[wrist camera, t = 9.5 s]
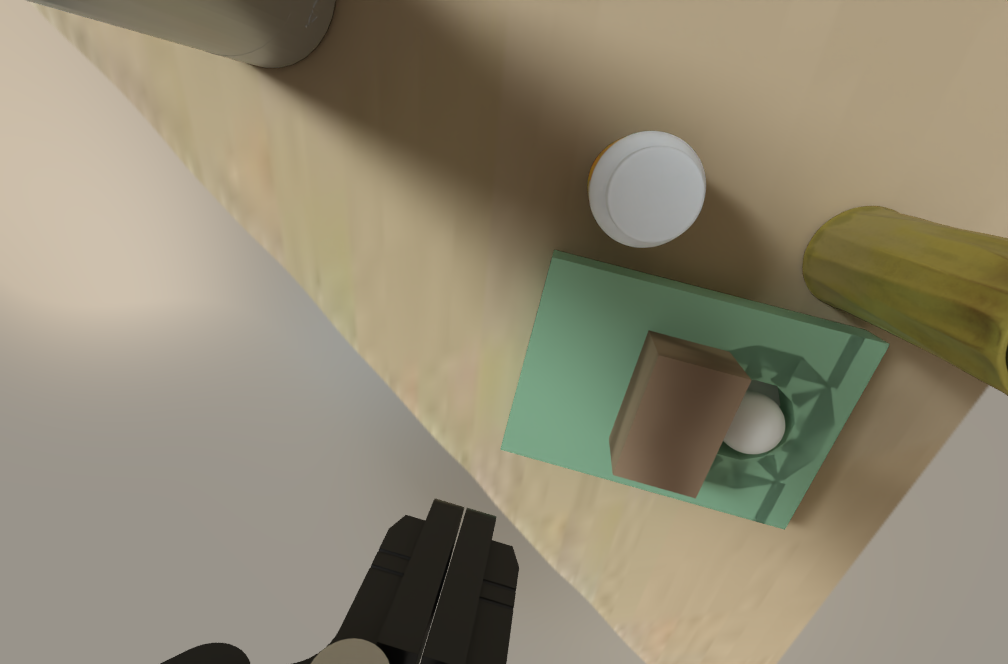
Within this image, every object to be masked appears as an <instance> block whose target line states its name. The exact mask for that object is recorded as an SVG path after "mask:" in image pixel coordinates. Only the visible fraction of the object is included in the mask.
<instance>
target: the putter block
mask: <svg viewBox="0 0 1008 664" xmlns="http://www.w3.org/2000/svg"><path fill="white" fill-rule="evenodd" d="M750 382H751V379H750V377H749V376H748V375H747V374H746V372H745V371H744V370H743V368H742V367H741V366H740V365H739V363H738V362H737V361H736V359H735V358H734V357H733V356H732V354H731V353H730V352H728V351H725V350H721V349H717V348H713V347H710V346H706V345H702V344H698V343H695V342H691V341H687V340H683V339H680V338H676V337H672V336H668V335H665V334H661V333H657V332H653V331H650V330H649V331H648V333H647V336H646V339H645V341H644V344H643V347H642V350H641V352H640V355H639V358H638V360H637V363H636V366H635V369H634V371H633V374H632V377H631V379H630V382H629V385H628V388H627V390H626V393H625V396H624V398H623V401H622V404H621V407H620V409H619V412H618V415H617V417H616V420H615V423H614V426H613V428H612V431H611V434H610V436H609V446H610V455H611V464H612V473H613V475H615V476H618V477H622V478H625V479H629V480H632V481H636V482H639V483H643V484H646V485H650V486H653V487H657V488H660V489H664V490H667V491H671V492H674V493H678V494H681V495H685V496H689V497H692V498H696V497H697V495H698V493H699V491H700V489H701V486H702V484H703V482H704V480H705V478H706V476H707V474H708V472H709V469H710V467H711V465H712V463H713V461H714V459H715V457H716V455H717V452H718V450H719V448H720V446H721V444H722V442H723V440H724V438H725V436H726V433H727V431H728V429H729V427H730V425H731V423H732V421H733V419H734V416H735V414H736V412H737V410H738V408H739V406H740V404H741V402H742V399H743V397H744V395H745V393H746V391H747V389H748V387H749V385H750Z"/></svg>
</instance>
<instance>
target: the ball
mask: <svg viewBox="0 0 1008 664" xmlns="http://www.w3.org/2000/svg"><path fill="white" fill-rule="evenodd" d="M784 432H785V419H784V415H783V413H782V411H781V409H780V407H779V406H778V405H777V404H776V403H775V402H774V401H773V400H772V399H771V398H769V397H768V396H766V395H764V394H762V393H759V392H755V391H746V393H745V395H744V397H743V399H742V402H741V404H740V406H739V408H738V410H737V412H736V414H735V416H734V419H733V421H732V423H731V425H730V427H729V429H728V431H727V433H726V436H725V438H724V440H723V441H724V442H725V443H726V444H727V445H728V446H730V447H731V448H732V449H734V450H736V451H739V452H741V453H745V454H761V453H765V452H767V451H769V450H771V449H773V448H774V447H775V446H777V445H778V443H779V442H780V441H781V439H782V437H783V435H784Z"/></svg>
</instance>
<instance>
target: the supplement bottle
mask: <svg viewBox="0 0 1008 664" xmlns="http://www.w3.org/2000/svg"><path fill="white" fill-rule="evenodd" d="M587 190H588V197H589V202H590V207H591V211H592V213H593V216H594V218H595V220H596V221H597V223H598V225H599V226H600V227H601V228H602V230H603V231H604V232H605V233H606V234H607V235H608V236H610V237H611V238H612V239H614V240H615V241H617V242H619V243H621V244H624V245H627V246H631V247H637V248H647V247H655V246H659V245H662V244H665V243H667V242H669V241H671V240H673V239H675V238H677V237H678V236H679V235H681V234H682V233H684V232H685V231H686V230H687V229H688V228H689V227H690V226H691V225H692V224H693V223H694V221H695V220H696V218H697V217H698V215H699V213H700V211H701V209H702V206H703V202H704V199H705V193H706V176H705V171H704V168H703V165H702V162H701V160H700V158H699V157H698V155H697V154H696V152H695V151H694V150H693V149H692V147H691V146H690V145H689V144H688V143H686V142H685V141H683V140H682V139H680V138H679V137H677V136H674V135H672V134H669V133H665V132H660V131H643V132H638V133H634V134H631V135H628V136H626V137H623V138H621V139H619V140H617V141H615V142H613V143H611V144H610V145H608V146H607V147H606V148H605V149H604V150H603V151H602V152H601V153H600V154H599V155H598V156H597V158H596V159H595V161H594V163H593V165H592V167H591V169H590V172H589V176H588V183H587Z"/></svg>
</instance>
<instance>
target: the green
mask: <svg viewBox="0 0 1008 664" xmlns="http://www.w3.org/2000/svg"><path fill="white" fill-rule="evenodd" d="M649 330H650V331H653V332H657V333H661V334H665V335H668V336H672V337H676V338H680V339H683V340H687V341H691V342H695V343H698V344H702V345H706V346H710V347H713V348H717V349H721V350H725V351H728V352H730V353H731V354H732V356H733V357H734V358H735V359H736V361H737V362H738V363H739V365H740V366H741V367H742V368H743V370H744V371H745V372H746V374H747V375H748V376H749V377H750V379H751V382H750V385H749V387H748V389H747V391H755V392H759V393H762V394H764V395H766V396H768V397H769V398H771V399H772V400H773V401H774V402H775V403H776V404H777V405H778V406H779V407H780V409H781V411H782V413H783V415H784V419H785V432H784V435H783V437H782V439H781V441H780V442H779V443H778V445H777V446H775V447H774V448H773V449H771V450H769V451H767V452H765V453H761V454H745V453H741V452H739V451H736V450H734V449H732V448H731V447H730V446H728V445H727V444H726V443H725V442H724V441H723V442H722V444H721V446H720V448H719V450H718V452H717V455H716V457H715V459H714V461H713V463H712V465H711V467H710V469H709V472H708V474H707V476H706V478H705V480H704V482H703V484H702V486H701V489H700V491H699V493H698V495H697V497H696V498H692V497H689V496H685V495H681V494H678V493H674V492H671V491H667V490H664V489H660V488H657V487H653V486H650V485H646V484H643V483H639V482H636V481H632V480H629V479H625V478H622V477H618V476H615V475H613V473H612V464H611V455H610V446H609V436H610V434H611V431H612V428H613V426H614V423H615V420H616V417H617V415H618V412H619V409H620V407H621V404H622V401H623V398H624V396H625V393H626V390H627V388H628V385H629V382H630V379H631V377H632V374H633V371H634V369H635V366H636V363H637V360H638V358H639V355H640V352H641V350H642V347H643V344H644V341H645V339H646V336H647V333H648V331H649ZM889 345H890V344H888V343H887V342H885V341H883V340H882V339H880V338H878V337H877V336H875V335H873V334H872V333H870V332H868V331H867V330H864V329H860V328H856V327H852V326H848V325H845V324H841V323H837V322H833V321H829V320H825V319H821V318H817V317H814V316H810V315H806V314H802V313H798V312H794V311H790V310H786V309H782V308H779V307H775V306H771V305H767V304H763V303H759V302H755V301H751V300H748V299H744V298H740V297H736V296H732V295H728V294H724V293H720V292H716V291H713V290H709V289H705V288H701V287H697V286H693V285H689V284H685V283H682V282H678V281H674V280H670V279H666V278H662V277H658V276H654V275H650V274H647V273H643V272H639V271H635V270H631V269H627V268H623V267H619V266H616V265H612V264H608V263H604V262H600V261H596V260H592V259H588V258H584V257H581V256H577V255H573V254H569V253H565V252H561V251H557V250H554V252H553V256H552V260H551V263H550V267H549V271H548V274H547V278H546V282H545V286H544V289H543V293H542V297H541V300H540V304H539V308H538V312H537V315H536V319H535V323H534V326H533V330H532V334H531V338H530V341H529V345H528V349H527V352H526V356H525V360H524V364H523V367H522V371H521V375H520V378H519V382H518V386H517V389H516V393H515V397H514V401H513V404H512V408H511V412H510V415H509V419H508V423H507V427H506V430H505V434H504V438H503V442H502V445H501V449H500V450H504V451H508V452H511V453H515V454H518V455H522V456H525V457H529V458H532V459H536V460H540V461H543V462H547V463H550V464H554V465H557V466H561V467H564V468H568V469H572V470H575V471H579V472H582V473H586V474H589V475H593V476H596V477H600V478H603V479H607V480H611V481H614V482H618V483H621V484H625V485H628V486H632V487H635V488H639V489H643V490H646V491H650V492H653V493H657V494H660V495H664V496H667V497H671V498H675V499H678V500H682V501H685V502H689V503H692V504H696V505H699V506H703V507H706V508H710V509H714V510H717V511H721V512H724V513H728V514H731V515H735V516H738V517H742V518H746V519H749V520H753V521H756V522H760V523H763V524H767V525H770V526H774V527H778V528H781V529H785V528H786V527H787V525H788V523H789V521H790V520H791V518H792V516H793V514H794V513H795V511H796V509H797V507H798V505H799V504H800V502H801V500H802V498H803V497H804V495H805V493H806V491H807V490H808V488H809V486H810V484H811V483H812V481H813V479H814V477H815V476H816V474H817V472H818V470H819V468H820V467H821V465H822V463H823V461H824V460H825V458H826V456H827V454H828V453H829V451H830V449H831V447H832V446H833V444H834V442H835V440H836V438H837V437H838V435H839V433H840V431H841V430H842V428H843V426H844V424H845V423H846V421H847V419H848V417H849V416H850V414H851V412H852V410H853V408H854V407H855V405H856V403H857V401H858V400H859V398H860V396H861V394H862V393H863V391H864V389H865V387H866V386H867V384H868V382H869V380H870V379H871V377H872V375H873V373H874V371H875V370H876V368H877V366H878V364H879V363H880V361H881V359H882V357H883V356H884V354H885V352H886V350H887V349H888V347H889Z"/></svg>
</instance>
